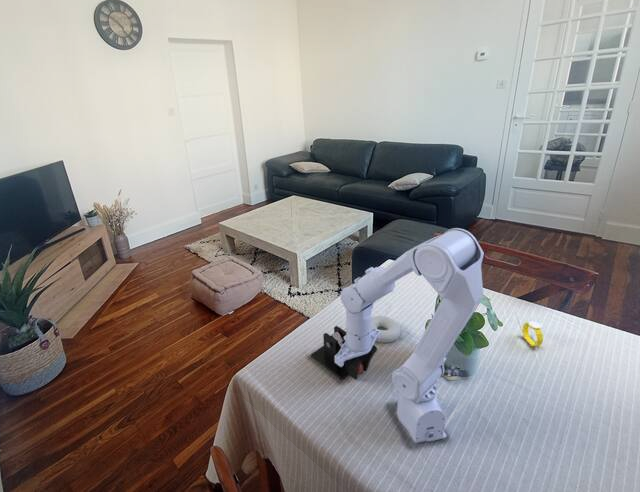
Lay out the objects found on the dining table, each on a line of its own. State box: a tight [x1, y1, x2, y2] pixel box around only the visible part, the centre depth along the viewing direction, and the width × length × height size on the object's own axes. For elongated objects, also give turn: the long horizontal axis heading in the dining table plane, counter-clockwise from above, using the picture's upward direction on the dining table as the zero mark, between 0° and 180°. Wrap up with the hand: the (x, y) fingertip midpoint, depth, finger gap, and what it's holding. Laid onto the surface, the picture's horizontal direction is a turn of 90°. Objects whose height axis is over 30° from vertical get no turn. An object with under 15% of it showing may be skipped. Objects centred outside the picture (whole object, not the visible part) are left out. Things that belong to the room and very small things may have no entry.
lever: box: [330, 331, 364, 375], centre depth 86 cm, size 11×3×3 cm
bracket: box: [310, 325, 358, 381], centre depth 88 cm, size 11×9×9 cm
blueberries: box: [442, 364, 465, 382], centre depth 83 cm, size 7×8×2 cm
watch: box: [521, 320, 544, 347], centre depth 89 cm, size 6×3×6 cm, turn 178°
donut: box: [371, 315, 402, 344], centre depth 98 cm, size 10×4×10 cm
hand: (358, 372), depth 84 cm, fingers closed on lever, 3 cm apart
